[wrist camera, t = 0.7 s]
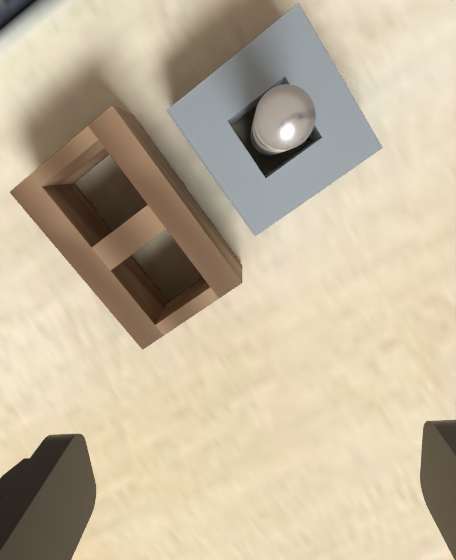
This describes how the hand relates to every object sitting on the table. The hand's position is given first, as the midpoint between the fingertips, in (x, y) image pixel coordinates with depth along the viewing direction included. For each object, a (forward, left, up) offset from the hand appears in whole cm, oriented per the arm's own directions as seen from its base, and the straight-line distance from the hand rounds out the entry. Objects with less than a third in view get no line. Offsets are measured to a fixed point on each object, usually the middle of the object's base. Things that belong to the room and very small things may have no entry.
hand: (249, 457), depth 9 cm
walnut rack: (+5, -6, -23) cm, 24 cm away
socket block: (-7, -6, -23) cm, 25 cm away
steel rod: (-7, -6, -23) cm, 25 cm away
